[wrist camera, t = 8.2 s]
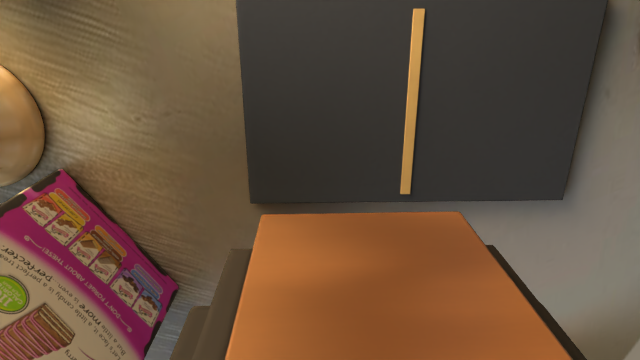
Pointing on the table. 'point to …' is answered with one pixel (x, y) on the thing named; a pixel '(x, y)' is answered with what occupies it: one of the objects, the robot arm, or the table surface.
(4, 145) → the hand bell
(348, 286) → the brown wooden block
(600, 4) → the mat
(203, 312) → the robot arm
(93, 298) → the candy bar box
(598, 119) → the table surface
